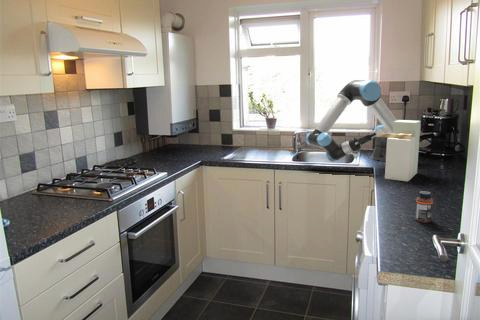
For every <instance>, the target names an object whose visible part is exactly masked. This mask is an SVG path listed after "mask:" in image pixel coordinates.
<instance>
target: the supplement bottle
mask: <svg viewBox="0 0 480 320" xmlns="http://www.w3.org/2000/svg"><path fill="white" fill-rule="evenodd" d="M431 196H432V193H431V192H430V191H427V190H426V191H425V190H423V191H422V190H420V191H419V193H418V196H417V197H416V198H415V209H414V210H415V212H414V213H415V214H414V220H416V221H417V222H419V223H422V224H423V223H424V224H425V223H431V222H432V220H433V206H434V200H433V198H432V197H431Z"/></svg>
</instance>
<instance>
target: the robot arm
mask: <svg viewBox="0 0 480 320" xmlns="http://www.w3.org/2000/svg"><path fill="white" fill-rule="evenodd" d="M381 90H382V88H381V85H380V84H379V83H378V82H377V81H376V80H371V79H366V80H365V79H364V80H363V79H362V80H359V79H358V80H356V79H354V80H352V81H349V82H348V83H347V84H346V85H345V86H344V87H343V88H342V89H341V90H340V91H339V93H338V94H337V95H336V100H334V102H333V104H332V105H331V106H330V107H329V109H328V111H327V112H326V113H325V115H324V116H323V118H322V119H321V120H320V122H319V123H318V125H316V127H315V129H314V130H313V131H311V132H309V133H307V134H306V136H305V142H306V144H307V145H310V146H311V147H317V148H321V149H323V150H324V151H326V152H325V155H326V158H327V159H328V161H330V162H333V163H334V162H336V161H339V160H340V159H343V158H344V157H346V156H348V155H349V156H351V155H352V153H355V152H356V151H359V150H361V149H362V148H361V147H362V145H365V144H366V143H367V142H369V141H372V139H375V141H374V142H375V143H374V148H373V151H372V154H371V160H373V161H378V160H380V161H379V162H386V148H387V137H376V136H378V135H380V134H382V133H392V134H393V122H394V121H397V120H398V119H397V118H396V117H395V115H394V114H393V113H392V111H391V110H390V109H389V107H388V106H387V104H386V103H385V102H384V101H383V99H382V91H381ZM355 100H356V101H360V102H361V103H362V105H363V106H365V107H368V108H369V110H370V111H371V113H373V115H374V116H375V117H376V119H377V120H378V122H379V123H380V125H377V126H376V127H375V130H374V131H372V132H371V133H369V134H367V135H365V136H362V137H361V136H360V137H359V138H357V137H352V138H350V139H348V140H346V141H344V142H342V143H340V144H339V143H337V142H336V141H335V140H334V139H333V138H332V136H331V135H330V134H329V132H330V130H331V129H332V127H333V126H334V124H335V123H336V122H337V120H338V119H339V118H340V116H341V115H342V114H343V112H344V111H345V109H346V108H347V106H350V105H351V104H352V103H353V102H354V101H355Z"/></svg>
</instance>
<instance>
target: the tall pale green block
mask: <svg viewBox="0 0 480 320" xmlns="http://www.w3.org/2000/svg"><path fill="white" fill-rule="evenodd" d="M396 120H397V121H394V122H393V134H400V133H405V134H413V135H412V138H411V139H398V138H387V148H386V161H385V168H384V169H385V171H384V179H385V180H392V181H403V182H409V181H410V180H411V179H413V177H415V175H417V174H418V166H419V165H418V164H419V163H418V161H419V148H420V136H421V135H420V134H421V120H413V119H412V120H411V119H396Z"/></svg>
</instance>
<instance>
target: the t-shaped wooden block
mask: <svg viewBox="0 0 480 320" xmlns="http://www.w3.org/2000/svg"><path fill="white" fill-rule="evenodd" d="M412 135H413V134H405V133H400V134H392V133H382V134H380V135H378V136H376V137H387V138H398V139H411V138H412Z"/></svg>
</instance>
